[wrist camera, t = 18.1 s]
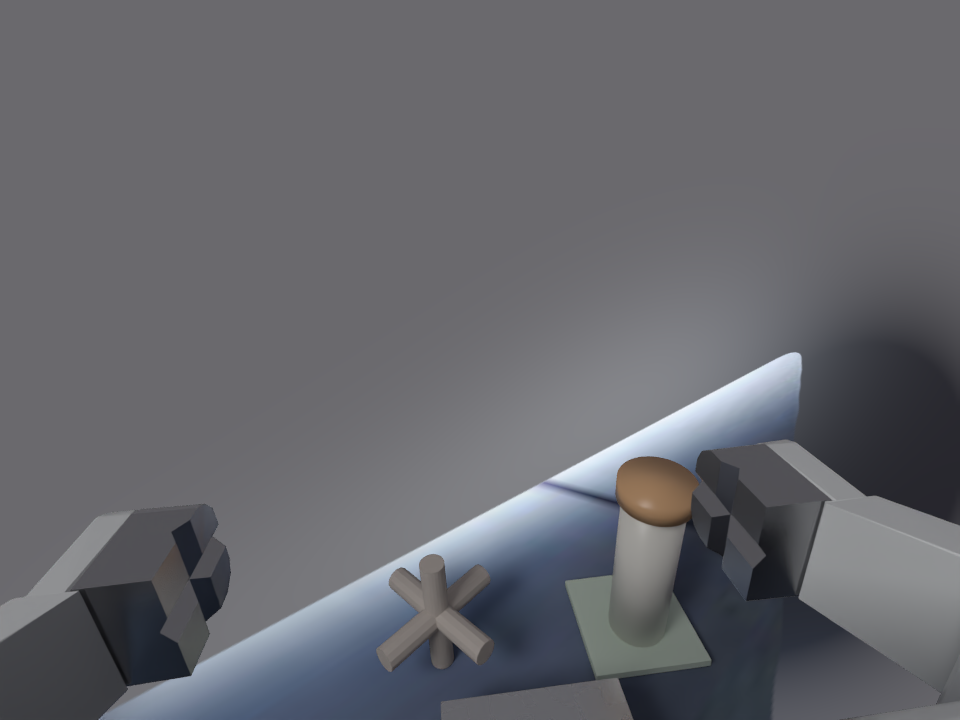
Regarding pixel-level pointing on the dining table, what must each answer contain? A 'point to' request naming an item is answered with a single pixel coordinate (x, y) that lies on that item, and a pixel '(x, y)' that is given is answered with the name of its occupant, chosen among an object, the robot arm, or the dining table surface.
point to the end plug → (648, 546)
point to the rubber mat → (619, 657)
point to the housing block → (545, 704)
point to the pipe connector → (437, 616)
